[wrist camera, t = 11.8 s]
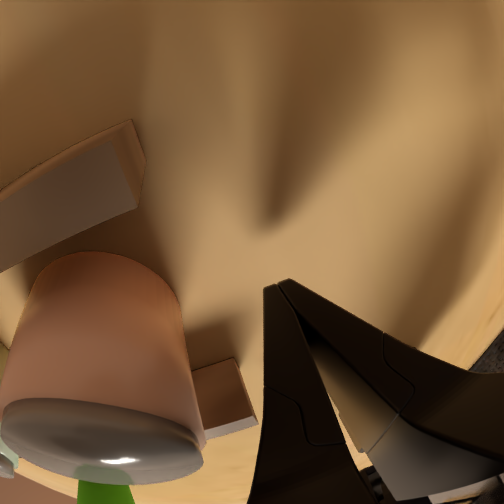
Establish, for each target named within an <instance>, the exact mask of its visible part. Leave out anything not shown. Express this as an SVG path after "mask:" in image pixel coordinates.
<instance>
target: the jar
mask: <svg viewBox="0 0 504 504" xmlns="http://www.w3.org/2000/svg"><path fill="white" fill-rule="evenodd" d="M0 422H1V430H0V436H1V439H2V440H3V442H4V443H5V444H6V445H7V447H8V448H10V449H11V450H12V451H13V452H14V453H16V454H17V455H19V456H20V457H22V458H23V459H25V460H27V461H29V462H31V463H33V464H35V465H37V466H39V467H41V468H43V469H46V470H48V471H51V472H54V473H57V474H60V475H63V476H67V477H70V478H74V479H79V480H84V481H89V482H95V483H103V484H114V485H144V484H154V483H162V482H167V481H172V480H176V479H179V478H182V477H185V476H188V475H190V474H192V473H194V472H196V471H197V470H199V469H200V468H201V467H202V465H203V458H202V454H201V451H202V449H203V448H204V447H205V444H206V437H205V433H204V429H203V425H202V421H201V416H200V412H199V407H198V403H197V398H196V394H195V389H194V384H193V379H192V374H191V369H190V364H189V358H188V353H187V347H186V342H185V336H184V330H183V323H182V317H181V310H180V307H179V303H178V301H177V298H176V296H175V294H174V293H173V291H172V290H171V288H170V287H169V286H168V285H167V284H166V282H165V281H164V280H163V279H162V278H161V277H159V276H158V275H157V274H156V273H155V272H153V271H152V270H150V269H149V268H147V267H146V266H144V265H142V264H140V263H138V262H137V261H134V260H132V259H129V258H127V257H124V256H120V255H117V254H112V253H106V252H95V251H87V252H77V253H73V254H68V255H66V256H63V257H60V258H58V259H57V260H55V261H53V262H51V263H50V264H49V265H48V266H46V267H45V268H44V269H43V270H42V271H41V273H40V274H39V275H38V277H37V279H36V281H35V283H34V285H33V287H32V290H31V292H30V294H29V297H28V299H27V302H26V304H25V307H24V309H23V312H22V315H21V317H20V320H19V323H18V326H17V329H16V332H15V335H14V338H13V341H12V344H11V347H10V351H9V354H8V357H7V361H6V365H5V369H4V372H3V377H2V381H1V385H0Z"/></svg>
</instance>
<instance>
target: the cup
mask: <svg viewBox="0 0 504 504" xmlns="http://www.w3.org/2000/svg"><path fill="white" fill-rule="evenodd" d="M77 504H135V502H134V500H133V497H132V494H131V491H130V488H129V485H114V484H103V483H95V482H89V481H84V480H79V483H78V496H77Z"/></svg>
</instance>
